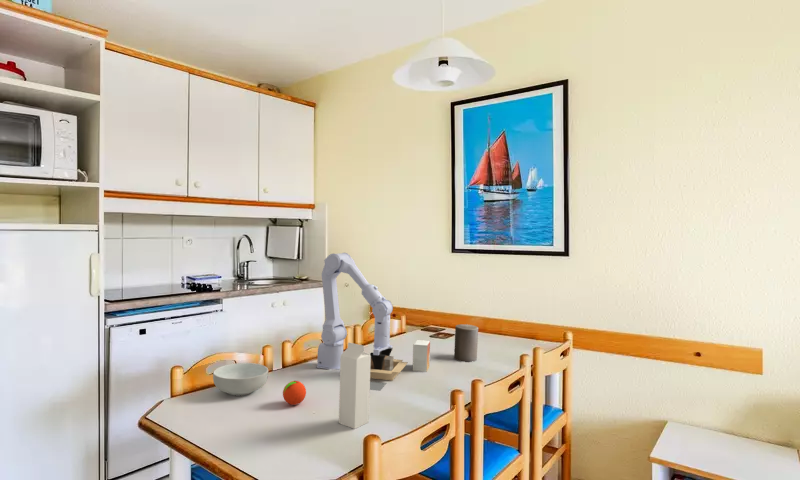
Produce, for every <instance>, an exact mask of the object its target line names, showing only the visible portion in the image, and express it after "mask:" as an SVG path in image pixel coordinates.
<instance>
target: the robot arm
mask: <svg viewBox="0 0 800 480" xmlns="http://www.w3.org/2000/svg"><path fill="white" fill-rule="evenodd" d="M323 261H324V262H323V263H324V266H323V269H322V272H321V281H322V283H321V284H322V292H323V302H324V314H325V321H324V323H323V324H322V332H321V340H322V342H320V343H319V344H318V347H317V357H316V358H317V360H316V361H317V362H316V363H317V366H316V368H317V369H325V370H336V371H337V370H338V371H340V359H341V355H342V354H343V352H344V342H345V341H344V340H345V339H346V338H347V336H348V331H347V328H346V326H345V322H344V320H343V319H342V318H341V314H340V313H341V312H340V304H339V294H338V292H339V291H338V285H337V284H338V283H337V277H338V276H339V275H340V274H341V273H344V274H347V275H349V276H350V277H351V278H352V280H353V281H354V282H355V284H357V286H358V287H359V288H361V295H362V296H363V298H364V300H366V302H367V303H368V305H369V306H370V308H372V309H371V310H372V311H371V312H372V314H373V316H374V332H373V333H374V334H373V337H374V339H373V345H372V346H373V352H369V355H371V359H372V361H373V364H374V369H376V370H382V366H383V361H384V358H385V356H391V353H392V351H393V345H391V343H390V341H391V340H390V338H391V335H390V334H391V314H392V313H393V309H394V307H393V304H392V302H391V300H389V299H387V298H386V297H385V296H383V294H382V293H381V292H380V291H379V287H378V286H377V285H375V284H373V283H372V284H371V283H370V282H368V280H367V279H366V277H365V276H364V274H363V273H362V271H361V270H360V269H359V267H358V266H357V265H356V261H355V259H353V258H352V256H351V255H350V254H349V253H348V252H342V253H341V252H338V253H330V254H328V256H327V257H326V258H325V259H324V260H323Z"/></svg>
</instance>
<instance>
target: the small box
mask: <svg viewBox="0 0 800 480" xmlns="http://www.w3.org/2000/svg"><path fill="white" fill-rule="evenodd" d="M412 346H413V347H412V348H413V349H412V372H420V373H421V372H422V373H428V370H429V368H430V358H431V357H430V354H431V341H430V340H423V339H422V340H421V339H416V340H415V342H414V343H413V345H412Z"/></svg>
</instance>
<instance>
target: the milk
mask: <svg viewBox="0 0 800 480" xmlns="http://www.w3.org/2000/svg"><path fill="white" fill-rule="evenodd" d="M370 363H371V355H370V353H368V352H366V351H365V345H361V344H359V343H358V344H357V343H354V342H348V343H347V348H346V349H345V350H343V354H342V355H341V359H340V370H339V400H338V402H339V403H338V407H339V408H338V424H340V425H342V426H346V427H348V428H352V429H354V430H355V429H358V428H359V427H362V426H364V425H366V424H369V422H370V397H371V395H370V394H371V390H370V381H371V378H370Z"/></svg>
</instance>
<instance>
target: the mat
mask: <svg viewBox="0 0 800 480" xmlns="http://www.w3.org/2000/svg"><path fill="white" fill-rule="evenodd" d="M386 385H387V382H380V381H372V380H370V391H378V392H379V391H381V390H382V389H383V388H384V387H385V386H386Z"/></svg>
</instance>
